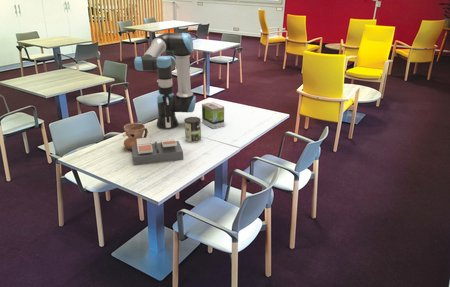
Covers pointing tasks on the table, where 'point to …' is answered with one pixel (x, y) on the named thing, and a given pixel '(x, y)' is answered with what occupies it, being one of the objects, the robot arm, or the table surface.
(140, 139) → the breaker
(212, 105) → the tea box
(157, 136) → the table surface
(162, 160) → the breaker panel
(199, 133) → the coffee can
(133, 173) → the table surface
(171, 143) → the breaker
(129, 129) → the ceramic jug
